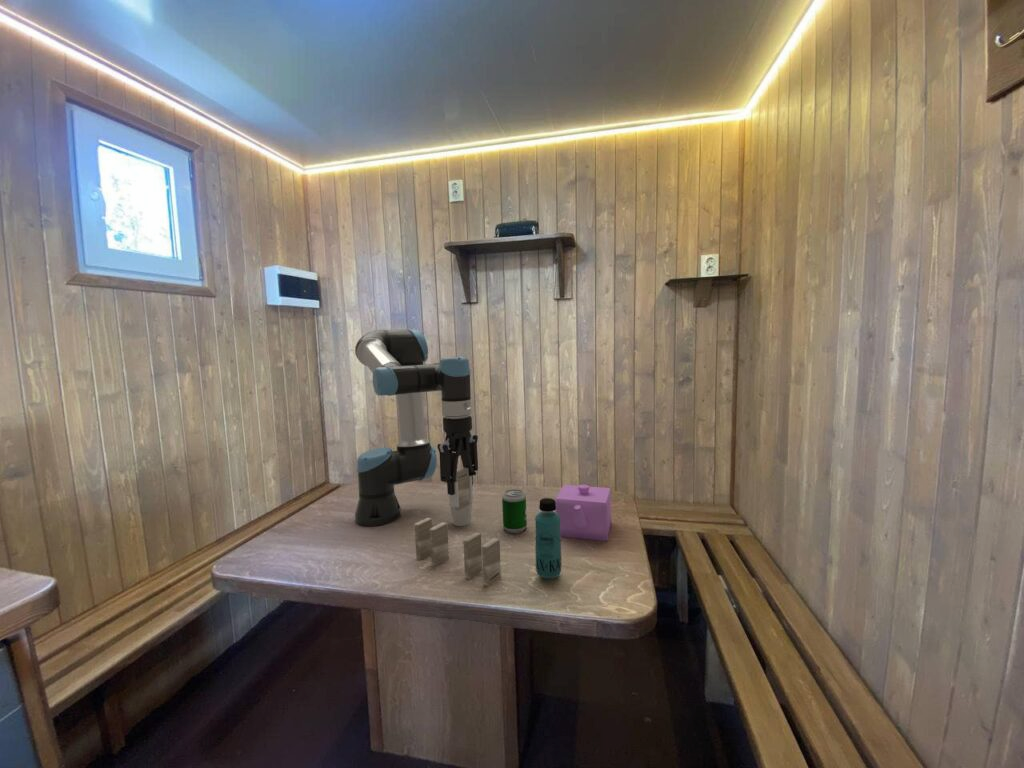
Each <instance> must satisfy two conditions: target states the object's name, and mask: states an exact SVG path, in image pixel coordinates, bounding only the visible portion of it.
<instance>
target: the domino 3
mask: <svg viewBox="0 0 1024 768" xmlns="http://www.w3.org/2000/svg"><path fill="white" fill-rule="evenodd" d="M456 482H458V493H459V507H454V506H453V509H454V510H460V509H462V508H464V507H466V506H468V505H469V504H470V493H469V468H465V467H463V466H462V468H459V469H458V468H457V473H456Z"/></svg>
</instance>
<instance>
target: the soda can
mask: <svg viewBox="0 0 1024 768" xmlns="http://www.w3.org/2000/svg"><path fill="white" fill-rule="evenodd" d="M501 497H502V498H501V503H502V526H503V527H502V528H503V529H504V530H505V531H506V532H508V533H510V534H519V533H522V532H524V531H525V529H527V527H528V523H527V522H528V521H527V495H526V493H525V492H524V491H523V490H521V489H518V488H516V489H515V488H512V489H508V490H506V491H504V493H503V494H502V496H501Z"/></svg>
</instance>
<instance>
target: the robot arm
mask: <svg viewBox="0 0 1024 768" xmlns="http://www.w3.org/2000/svg"><path fill="white" fill-rule="evenodd" d="M427 343H428V342H427V340H426V337H425V335H424V334H423V332H422V331H420V330H418V329H409V328H406V329H375V330H371V331H369V332H367V333H365V334H364V335H362V336H361V337H360V338H359V339H358V341H357V342H356V345H355V350H354V352H355V356H356V359H357V360H358V361H359V363H361V364H362V365H364V366H365V367H367V368H368V369H369V371H370V372H371V373H372V386H373V389H374V392H375V394H376V395H377V396H379V397H380V396H388V397H391V396H396V400H397V401H396V402H397V412H398V424H399V426H398V427H399V438H400V439H399V442H397V444H396V450H392V448H391V447H387V446H386V447H385V446H383V447H377V448H373V449H370V450H366V451H364V452H362V453H361V454H360V455H358V457H357V461H356V473H357V486H358V497H359V498H358V501H357V506H356V510H355V513H354V514H355V515H354V517H355V518H354V519H355V521H354V522H355V524H358V525H360V526H365V527H375V526H383V525H386V524H389V523H391V522H394V521H396V520H398V519H399V518H400V517H401V515H402V511H401V510H402V508H401V506H400V502H399V500H398V498H397V495H396V493H395V485H401V484H406V483H412V482H417V481H423V480H426V479H431V477H433V476H434V475H435V472H436V470H437V469H436V468H437V465H438V464H437V463H438V462H437V460H438V459H437V458H438V457H437V452H436V447H435V446H433V445H431V443H430V440H429V439H427V437H426V435H425V433H426V432H425V421H424V420H425V419H424V410H423V408H424V407H423V396H422V393H429V392H441V407H442V409H441V411H442V412H441V413H442V416H443V419H442V425H443V427H442V428H443V429H442V430H443V432H444V433H445V438H444V441H443V442H442V443H438V444H437V451H438V453H439V474H440V475H439V476H440V481H441V482H443V483H446V488H447V489H446V491H447V495H448V494H449V497H448V500H449V502H448V504H449V506H450V507H451V506H454V507H459V493H458V482H456V473H457V470H458V463H459V457H460V459H461V462H462V463H461V464H462V468H463V467H465V468H469V493H470V500H472V501H473V500H474V491H473V489H474V488H473V487H474V476H476V475H477V471H478V470H479V461H478V459H479V458H478V444H477V443H478V439H479V436H478V435H477V434H471V431H472V430H473V416H471V414H472V402H471V401H472V400H471V399H472V397H471V369H470V361H469V358H468V357H466V356H446V357H442V358H441V359H440V362H438V363H437V362H435V363H431V364H424V362H426V361H428V357H429V348H428V347H429V346H428V344H427Z"/></svg>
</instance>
